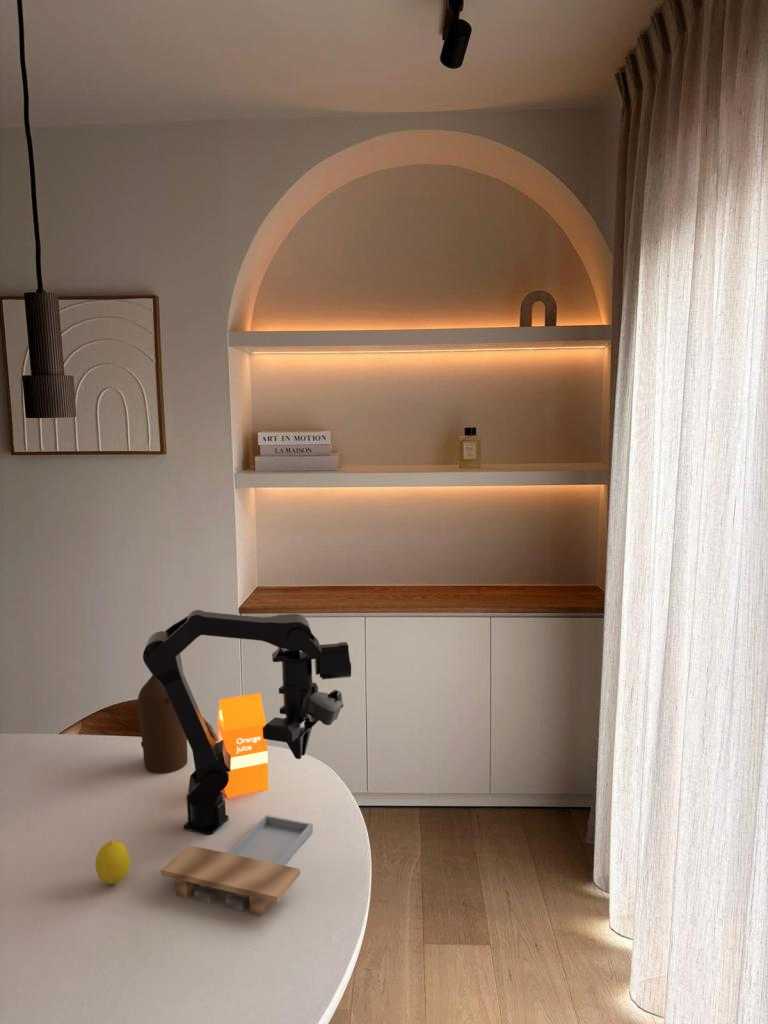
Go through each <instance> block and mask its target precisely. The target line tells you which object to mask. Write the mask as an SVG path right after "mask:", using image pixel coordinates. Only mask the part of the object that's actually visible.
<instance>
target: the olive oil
mask: <svg viewBox="0 0 768 1024" xmlns="http://www.w3.org/2000/svg"><path fill="white" fill-rule="evenodd" d="M137 709H138V717H139V725H140V733H141V735H140V736H141V741H140V744H141V745H140V746H141V749H142V752H143V763H144V768H145V770H146V771H148V772H150V773H153V774H169V773H173V772H176V771H178V770H180V769H182V768H184V767H185V766H186V765H187V764H188V740H187V738H186V735H185V733H184V731H183V729H182V726H181V724H180V722H179V720H178V717H177V715H176V713H175V711H174V708H173V706H172V704H171V702H170V699H169V697H168V695H167V693H166V690H165V688H164V687H163V685H162V684H161V683H160V682H159V681H158V680H157V679H156V678H155V677H154V676H153V675H152V674H151V676H150V677H149V678H148V680H147V682H145V684H144V685H143V686H141V688H140V691H139V693H138V697H137Z"/></svg>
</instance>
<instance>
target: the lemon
mask: <svg viewBox="0 0 768 1024" xmlns="http://www.w3.org/2000/svg"><path fill="white" fill-rule="evenodd" d="M130 865H131V857H130V854H129V851H128V849H127V847H126V845H125V844H124V843H122V842H121V841H118V840H117V841H116V840H109V841H108V842H105V844H103V845H102V846H100V848H99V850H98V852H97V855H96V858H95V870H96V871H95V872H96V875H97V877H98V878H99V880H100V881H102V882H103V883H105V884H107V885H113V886H115V885H117V884H118V883H119V882H121V881H123V880H124V879H125V877H127V875H128V873H129V870H130Z"/></svg>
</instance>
